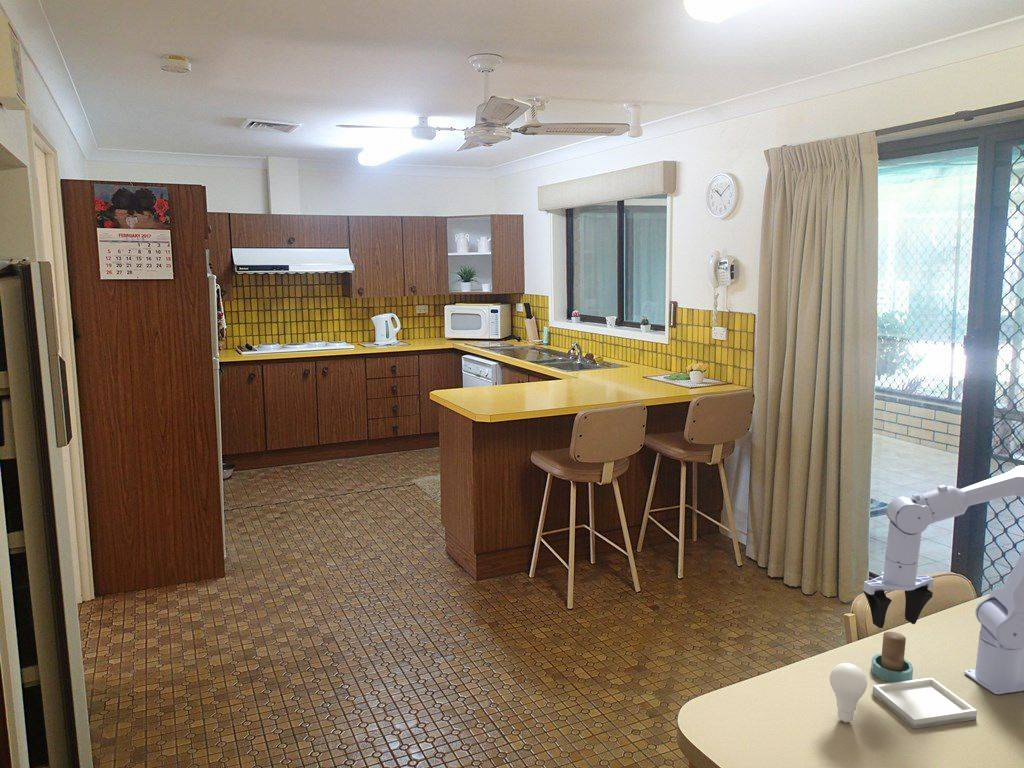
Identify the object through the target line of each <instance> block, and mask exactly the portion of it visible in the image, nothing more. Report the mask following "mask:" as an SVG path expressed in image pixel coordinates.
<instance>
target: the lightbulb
mask: <svg viewBox="0 0 1024 768" xmlns="http://www.w3.org/2000/svg"><path fill="white" fill-rule="evenodd" d="M829 683H830V687H831V688H832V689H831V690H833V692H834V695H835V698H836V707H837V717H838V719H839V720H840V721H841V722H843V723H850V722H852V721H854V715H855V711H856V709H857V704H858V702H859V700H860V699H861V698H862V697H863V695H865V692H866V691H867V687H868V680H867V676H866V675H865V673H864V671H863V670H862V669H861V668H860V667H859V666H858V665H855V664H853V663H850V662H843V663H842V662H841V663H838V664H837V665H835V666H834V667H833V668H832V670H831V671H830V674H829Z"/></svg>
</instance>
